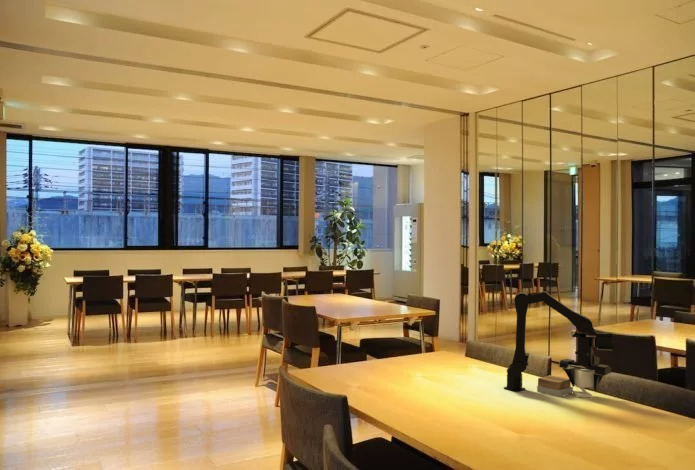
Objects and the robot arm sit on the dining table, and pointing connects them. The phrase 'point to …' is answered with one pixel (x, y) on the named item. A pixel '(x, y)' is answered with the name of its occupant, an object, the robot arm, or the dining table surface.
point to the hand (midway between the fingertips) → (584, 388)
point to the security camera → (583, 381)
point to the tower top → (554, 382)
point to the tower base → (555, 391)
